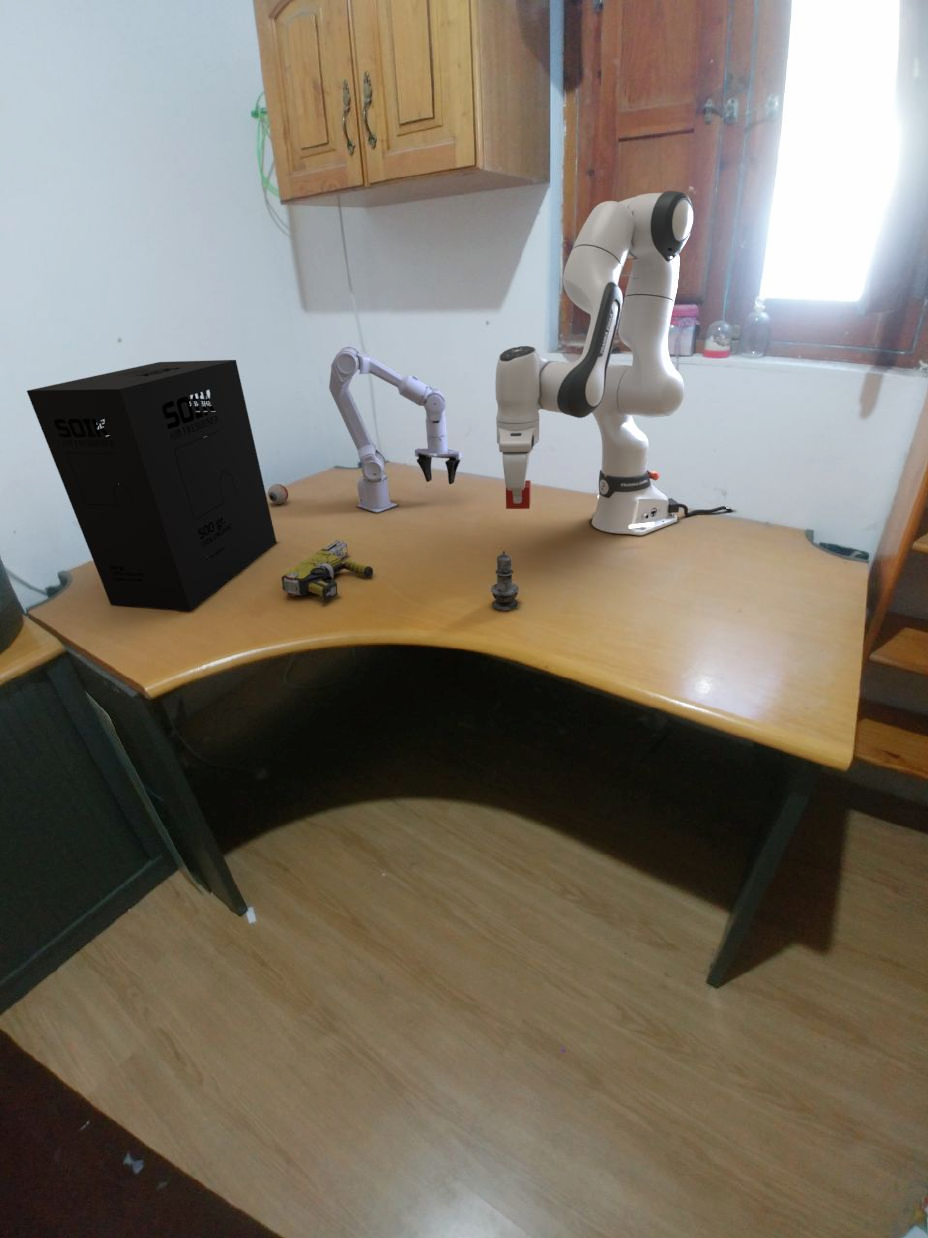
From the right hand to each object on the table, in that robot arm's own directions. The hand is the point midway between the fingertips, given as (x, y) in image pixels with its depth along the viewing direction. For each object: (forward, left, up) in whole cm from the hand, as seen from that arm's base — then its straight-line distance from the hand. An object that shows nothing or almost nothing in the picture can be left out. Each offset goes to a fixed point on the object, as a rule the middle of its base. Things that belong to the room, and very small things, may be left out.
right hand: (518, 497), depth 132 cm
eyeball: (+42, -78, -17) cm, 90 cm away
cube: (0, 0, -2) cm, 2 cm away
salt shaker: (+12, +15, -17) cm, 25 cm away
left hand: (-2, -51, -10) cm, 52 cm away
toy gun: (+39, -15, -17) cm, 45 cm away
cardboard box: (+68, -37, -17) cm, 79 cm away
